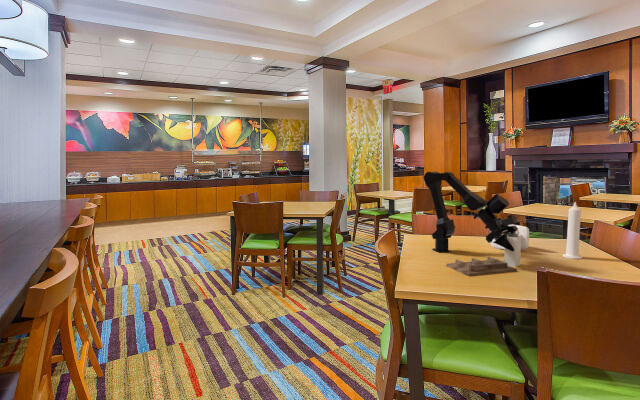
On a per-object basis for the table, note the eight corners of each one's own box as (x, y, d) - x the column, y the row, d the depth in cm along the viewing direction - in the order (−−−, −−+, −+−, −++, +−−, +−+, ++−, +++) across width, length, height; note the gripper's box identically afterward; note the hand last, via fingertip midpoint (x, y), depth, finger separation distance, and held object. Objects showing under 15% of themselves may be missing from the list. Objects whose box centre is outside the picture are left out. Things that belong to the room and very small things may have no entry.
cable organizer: (530, 251, 176) (531, 227, 175) (515, 253, 171) (516, 229, 170) (503, 245, 189) (504, 223, 188) (488, 247, 185) (489, 224, 184)
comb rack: (446, 266, 151) (446, 259, 151) (491, 262, 157) (491, 255, 157) (468, 275, 138) (468, 268, 138) (516, 271, 143) (517, 263, 143)
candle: (579, 256, 166) (583, 201, 163) (583, 259, 159) (586, 203, 157) (561, 254, 169) (564, 200, 166) (564, 258, 162) (567, 202, 160)
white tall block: (504, 264, 153) (505, 234, 151) (508, 262, 155) (510, 232, 154) (515, 267, 149) (516, 235, 148) (520, 265, 152) (521, 234, 151)
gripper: (494, 210, 147) (521, 241, 140) (514, 207, 159) (540, 235, 152) (474, 227, 154) (500, 258, 147) (495, 222, 166) (519, 250, 158)
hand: (516, 250), depth 151 cm, fingers closed on white tall block, 4 cm apart
